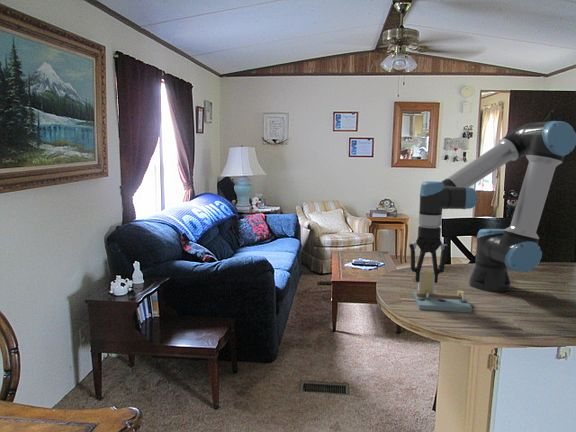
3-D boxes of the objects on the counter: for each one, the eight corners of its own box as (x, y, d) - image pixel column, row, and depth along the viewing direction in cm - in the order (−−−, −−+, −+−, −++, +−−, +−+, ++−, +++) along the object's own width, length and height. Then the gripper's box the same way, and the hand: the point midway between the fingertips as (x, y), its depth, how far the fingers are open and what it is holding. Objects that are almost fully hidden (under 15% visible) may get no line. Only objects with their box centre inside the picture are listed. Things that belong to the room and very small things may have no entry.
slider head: (429, 294, 164) (431, 269, 163) (433, 299, 158) (434, 274, 157) (419, 293, 165) (420, 269, 163) (422, 299, 158) (423, 274, 157)
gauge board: (461, 298, 166) (462, 287, 165) (471, 312, 152) (472, 300, 151) (413, 296, 168) (413, 285, 167) (419, 309, 154) (419, 297, 153)
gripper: (452, 225, 161) (447, 289, 165) (403, 223, 163) (400, 286, 167) (457, 228, 154) (452, 295, 158) (406, 227, 156) (402, 293, 160)
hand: (425, 290), depth 162 cm, fingers closed on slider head, 4 cm apart
